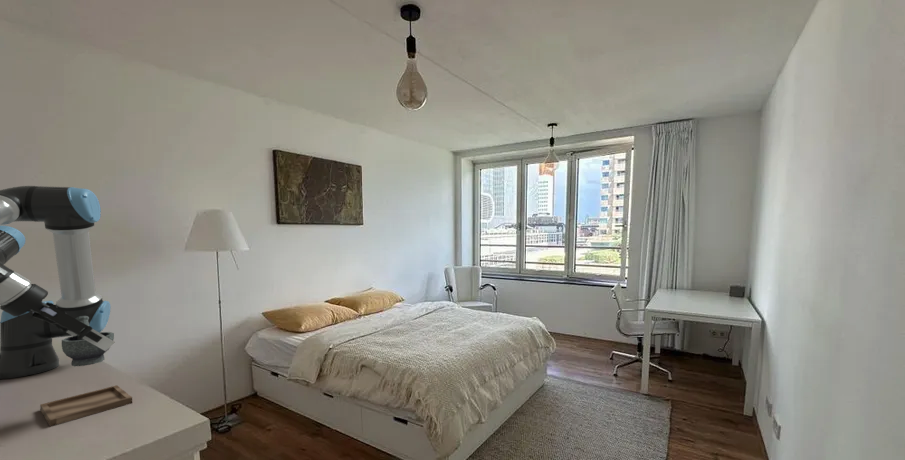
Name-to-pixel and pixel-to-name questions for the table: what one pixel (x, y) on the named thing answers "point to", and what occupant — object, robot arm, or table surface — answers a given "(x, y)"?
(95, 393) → the walnut tray
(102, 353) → the mortar and pestle
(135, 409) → the table surface
